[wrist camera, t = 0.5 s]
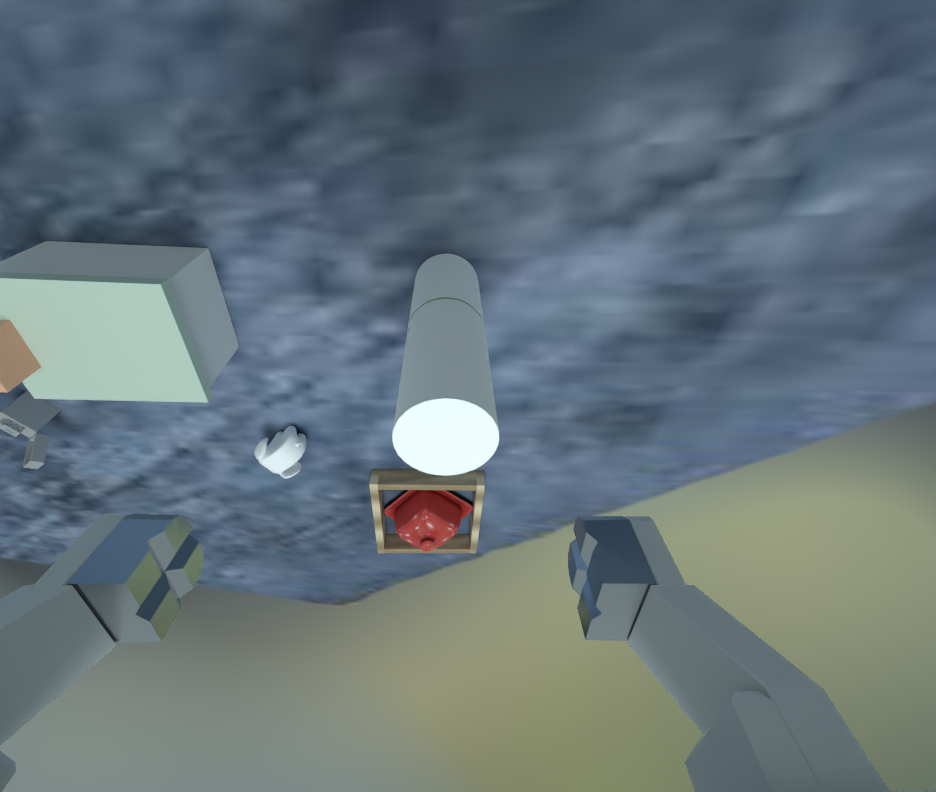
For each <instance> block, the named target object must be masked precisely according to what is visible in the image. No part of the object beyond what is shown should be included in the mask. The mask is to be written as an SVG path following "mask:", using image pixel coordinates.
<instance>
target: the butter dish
mask: <svg viewBox="0 0 936 792" xmlns="http://www.w3.org/2000/svg"><path fill="white" fill-rule="evenodd" d="M472 510H473V506H472V505H470V504H469V503H467V502H466V501H464V500H462V499H460V498H459V497H457V496H455V495H453V494H452V493H450V492H448V491H446V490H408V491H407V492H406V493H404V494H403V495H402V496H401V497H399V498H398V499H397V500H396V501H394V502H393V503H392V504H390V505H389V506H388V507H387V508H386V509H385V510H384V513H385V514H386V515H387V516H388V517H390V518H392V519H393V520H395V526H396V532H397V534H398V535H399V537H401V538H402V539H403V540H405V541H406V542H408V543H410V544H412V545H413V546H416V547H418V548H420V549H421V550H422V551H425V552H429V551H432V550H433V549H435V548H437V547H439V546H441V545H443V544H444V543H446V542H447V541H448V540H450V539H451V538H452V537H453V536H454V535H455V534H456V532H457V531H458V529H459V525H460V521H461V519H462V518H464V517H465V516H466V515H468V514H469V513H470V512H471V511H472Z"/></svg>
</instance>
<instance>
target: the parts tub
mask: <svg viewBox="0 0 936 792" xmlns="http://www.w3.org/2000/svg"><path fill="white" fill-rule="evenodd" d="M0 272H12V273H37V274H63V275H88V276H113V277H138V278H163V279H168V281H169V283H170V286H171V288H172V291H173V294H174V296H175V299H176V301H177V304H178V306H179V309H180V312H181V314H182V317H183V319H184V322H185V324H186V327H187V329H188V332H189V335H190V337H191V340H192V342H193V345H194V347H195V350H196V352H197V355H198V358H199V360H200V363H201V365H202V368H203V370H204V373H205V376H206V378H207V381H208V383H209V386H211V385H212V384H213V382H214V381H215V379H216V378H217V377H218V375H219V374H220V373H221V371H222V370H223V368H224V367H225V366H226V364H227V363H228V361H229V360H230V359H231V357H232V356H233V354H234V353H235V352H236V350H237V349H238V348H239V344H238V341H237V337H236V334H235V331H234V328H233V325H232V321H231V318H230V315H229V312H228V309H227V306H226V302H225V299H224V296H223V293H222V290H221V287H220V283H219V280H218V277H217V274H216V271H215V267H214V264H213V261H212V258H211V255H210V252H209V248H193V247H171V246H148V245H125V244H103V243H80V242H58V241H45V242H43V243H41V244H38V245H36V246H34V247H32V248H30V249H27V250H25V251H23V252H21V253H19V254H17V255H14V256H12V257H10V258H8V259H6V260H3V261H1V262H0Z"/></svg>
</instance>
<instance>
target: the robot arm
mask: <svg viewBox="0 0 936 792" xmlns="http://www.w3.org/2000/svg"><path fill="white" fill-rule="evenodd" d="M192 528H193V527H192V525H191V523H190V521H189V519H188V517H187V516H180V515H150V514H105V515H103V516H101V517H99V518H97V519H96V520H95V521H94V522H93V523H92V524H91V525H90V526H89V527H88V528H87V529H86V530H85V531H84V533H83V534H82V535H81V536H80V537H79V538H78V539H77V540H76V541H75V542H74V543H73V544H72V545H71V546H70V547H69V548H68V550H67V551H66V552H65V553H64V554H63V555H62V556H61V557H60V558H59V559H58V560H57V561H56V562H55V563H54V564H53V565H52V567H51V568H50V569H49V570H48V571H47V572H46V573H45V574H44V575H43V576H42V577H41V578H40V579H39V580H38V581H37V582H36V584H35V585H25V586H23V587H21V588H20V589H18V590H16V591H14V592H13V593H11V594H9V595H7V596H6V597H4V598H2V599H0V746H1V745H2V744H3V743H4V742H5V741H6V740H7V739H9V738H10V737H11V736H12V735H13V734H14V733H16V732H17V731H18V730H19V729H20V728H21V727H22V726H24V725H25V724H26V723H27V722H28V721H30V719H32V718H33V717H34V716H35V715H36V714H38V713H39V712H40V711H41V710H42V709H43V708H45V707H46V706H47V705H48V704H49V703H50V702H51V701H53V700H54V699H55V698H56V697H57V696H58V695H60V694H61V693H62V692H63V691H64V690H65V689H67V688H68V687H69V686H70V685H71V684H72V683H73V682H75V681H76V680H77V679H78V678H79V677H80V676H82V675H83V674H84V673H85V672H86V671H88V670H89V669H90V668H91V667H92V666H93V665H94V664H96V663H97V662H98V661H99V660H100V659H101V658H102V657H104V656H105V655H106V654H107V653H108V652H110V651H111V650H112V649H113V648H114V647H115V646H116V643H127V642H128V643H129V642H160V641H162V640H163V639H164V637H165V635H166V633H167V632H168V630H169V628H170V627H171V625H172V623H173V621H174V620H175V618H176V616H177V615H178V613H179V611H180V610H181V606H180V601H179V598H180V597H182V596H183V595H184V594H186V593H187V592H188V591H190V590H191V589H192V588H193V587H194V585H195V583H196V582H197V580H198V578H199V576H200V574H201V570H202V566H203V561H204V558H203V549H202V547H201V544H200V542H199V541H197V540H196V539H194V538H193V537H191V536H190V535H189V533H190V531H191V530H192ZM574 533H575V536H576V539H575V540H573V541H572V542H571V543H570V548H569V553H568V567H569V575H570V580H571V584H572V588H573V589H574V590H575V591H576V592H577V593H578V594H579V595H580V600H579V604H578V607H577V609H578V613H579V617H580V620H581V624H582V628H583V632H584V636H585V639H586V640H614V641H628V642H627V644H628V645H629V646H630V647H631V648H632V649H633V651H634V652H635V653H636V654H637V656H638V657H639V658H640V659H641V660H642V661H643V663H644V664H645V665H646V666H647V667H648V669H649V670H650V671H651V672H652V673H653V675H654V676H655V677H656V678H657V679H658V681H659V682H660V683H661V684H662V685H663V687H664V688H665V689H666V690H667V691H668V693H669V694H670V695H671V696H672V697H673V699H674V700H675V701H676V702H677V703H678V705H679V706H680V707H681V708H682V709H683V711H684V712H685V713H686V714H687V715H688V717H689V718H690V719H691V720H692V721H693V723H694V724H695V725H696V726H697V727H698V729H699V730H700V731H701V732H702V733H703V736H702V737H701V738H700V740H699V741H698V743H697V744H696V745H695V747H694V748H693V750H692V751H691V752H690V754H689V756H688V757H687V760H686V761H685V764H686V767H687V770H688V773H689V776H690V779H691V781H692V784H693V787H694V790H695V792H936V790H933V791H931V790H930V791H890V790H889V789H888V787H887V786H886V784H885V783H884V781H883V780H882V778H881V777H880V775H879V774H878V772H877V771H876V769H875V767H874V766H873V764H872V763H871V761H870V760H869V758H868V757H867V755H866V754H865V752H864V751H863V749H862V747H861V746H860V744H859V743H858V741H857V740H856V738H855V737H854V735H853V734H852V732H851V731H850V729H849V728H848V726H847V725H846V723H845V721H844V720H843V718H842V717H841V715H840V714H839V712H838V711H837V709H836V708H835V707H834V705H833V703H832V701H831V700H830V698H829V697H828V695H827V694H826V692H825V691H824V689H823V688H821V687H820V686H819V685H818V684H817V683H815V682H814V681H813V680H811V679H810V678H809V677H808V676H807V675H805V674H804V673H803V672H802V671H800V670H799V669H798V668H797V667H795V666H794V665H793V664H792V663H790V662H789V661H788V660H787V659H785V658H784V657H783V656H782V655H780V654H779V653H778V652H776V651H775V650H774V649H773V648H772V647H770V646H769V645H768V644H766V643H765V642H764V641H763V640H761V639H760V638H759V637H758V636H757V635H755V634H754V633H753V632H752V631H750V630H749V629H748V628H747V627H745V626H744V625H743V624H742V623H740V622H739V621H738V620H737V619H735V618H734V617H733V616H732V615H730V614H729V613H728V612H726V611H725V610H724V609H723V608H722V607H720V606H719V605H718V604H717V603H715V602H714V601H713V600H712V599H710V598H709V597H708V596H707V595H705V594H704V593H703V592H702V591H700V590H699V589H698V588H696V587H695V586H694V585H686V584H685V582H684V580H683V578H682V576H681V574H680V572H679V570H678V568H677V566H676V564H675V562H674V560H673V558H672V556H671V554H670V552H669V550H668V548H667V546H666V544H665V542H664V540H663V538H662V536H661V534H660V532H659V530H658V529H657V527H656V525H655V523H654V521H653V520H652V519H651V518H650V517H623V516H599V517H578V518H577V519H576V521H575V525H574ZM15 772H16V768H15V762H14V761H13V760H11V759H10V758H9V757H7V756H6V755H5V754H3V753H2V752H1V751H0V792H2V791H3V790H4V788H5V787H6V785H7V784H8V782H9V781H10V779H11V778H12V776H13V775H14V773H15Z"/></svg>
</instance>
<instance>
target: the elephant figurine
mask: <svg viewBox="0 0 936 792" xmlns="http://www.w3.org/2000/svg"><path fill="white" fill-rule="evenodd" d="M267 442H268V438H266V437H265V438H263V439H262V440H261V441H260V442H259V443H258V445H257V446H256V448H255V452H254V453H255V456H256V458H257V459H258V461H259V462H260V463H261V464H262V465H263V466H265V467H266V468H267V469H269V470H270V471H271V472H273V473H278V474H280V475H281V476H282V477H283V478H285V479H286V478H290V477H292V476H294V475H296V474H297V473H298V472H299V471H300V470H301V464H300V463H298V462H297V461H298V460H299V459H300V458H301V456H302V455H303V453H304V451H305V449H306V437H305V435H304V434H301V433H300V434H298V435H297V431H296V428H295V427H294V426H288V427H287V428H286V429H285V430H284V432H282V431H279V432H277V434H276V435H275V437H274V438H273V440H272V441H271V442H270V444H269V445H268V446H267Z"/></svg>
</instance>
